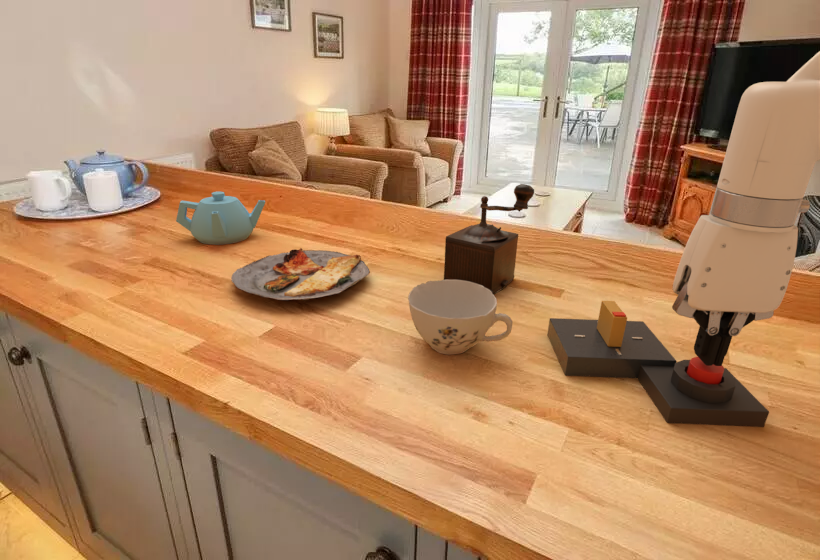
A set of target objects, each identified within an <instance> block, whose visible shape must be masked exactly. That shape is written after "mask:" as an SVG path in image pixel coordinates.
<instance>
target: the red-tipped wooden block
mask: <svg viewBox="0 0 820 560" xmlns="http://www.w3.org/2000/svg"><path fill="white" fill-rule="evenodd" d="M599 308H600V309H599V314H598V318H597V320H598V324H597V330H598V331H599V333H600V334H601V336H602V338H603V339H604V341H605V342H606V344H607V346H609V347H621V345H622V341H623V336H624V331H625V327H626V322H627V321H628V317H627V314H626V313H625V311H623V310H622V308H621V307H620V306H619V305H618V303H616V301H615V300H601V303H600V307H599Z"/></svg>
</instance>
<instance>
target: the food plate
mask: <svg viewBox="0 0 820 560" xmlns="http://www.w3.org/2000/svg"><path fill="white" fill-rule="evenodd" d="M370 273H371V271H370V268H369V267H368V266H367V264H366V262H365V261H364V260H362V256H361V255H360V254H352V255H350V254H347V253H342V252H340V251H333V250H332V251H331V250H323V249H322V250H320V249H318V250H314V249H311V250H310V249H309V250H305V249H303V248H301V247H300V248H299V249H291V250H289V252H280V253H277V254H273V255H266V256H264V257H261V258H259V259H257V260H254V261H252V262H250V263H248V264H246V265H244V266H242V267H239V268H237V269H236V270H235V271H234V272H233V273H232V274H231V282H232V283H233V284H234V286H235V287H236V288H237V289H239V290H240V291H244V292H246V293H247V294H253V295H255V296H260V298H270V299H274V300H279V301H290V300H291V301H292V300H297V301H299V300H302V301H306V300H307V301H309V300H310V299H316V298H322V297H327V296H332V295H336V294H340V293H342V292H343V291H345V290H347V289H348V288H351V287H353V286H355V285H356V284H357V283H359V282H360V281H362V280H363V279H365V277H367V276H369V274H370Z"/></svg>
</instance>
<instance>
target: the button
mask: <svg viewBox="0 0 820 560" xmlns="http://www.w3.org/2000/svg"><path fill="white" fill-rule="evenodd" d="M689 360H690V362H689V366H688V370H687V374H688V376H689V377H691V378H693V379H695V380H697V381H699V382H703V383H706V384H719V383H720V382H721V379H722V376H723V373H724V368H725V367H724V365H722V366H715V365H714V364H713V365H712V366H707V365H705V364H704V363H703V362H702V360H701V359H700V358H699V357H698V356H694V357H691V358H690V359H689Z"/></svg>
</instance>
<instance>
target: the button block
mask: <svg viewBox="0 0 820 560" xmlns="http://www.w3.org/2000/svg"><path fill="white" fill-rule="evenodd" d="M690 360H691V359H681V360H679V361H676V363H675V365H674V366H656V365H641V366H640V370H639V374H638V379H637V380H638V382H639V383H640V385H641V386H642V388H643V389H644V391H645V393H646V394H647V396H648V397H649V398H650V401H652V403H653V404H654V406H655V408H656V409H657V410H658V412H659V414H660V415H661V416H662V418H663V420H665V422H666V424H680V425H681V424H683V425H702V426H703V425H706V426H727V427H730V426H731V427H754V428H764V427H765V425H766V422H767V419H768V417H769V414H770V411H769V410H768V409H767V408H766V407H765V406H764V405H763V403H761V402H760V400H758V399H757V398H756V397H755V396H754V395H753V393H751V392H750V391H749V389H747V388H746V387H745V386H744V385H743V384H742V382H740V381H739V380H738V379H737V378H736V377H735V376H734V374H732V372H730V370H729V369H728V368H726V367H724V373H723V376H722V379H721V382H720V383H719V384H706V383H703V382H699V381H697V380H695V379H693V378H691V377H689V376H688V374H687V370H688V366H689V362H690Z"/></svg>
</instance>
